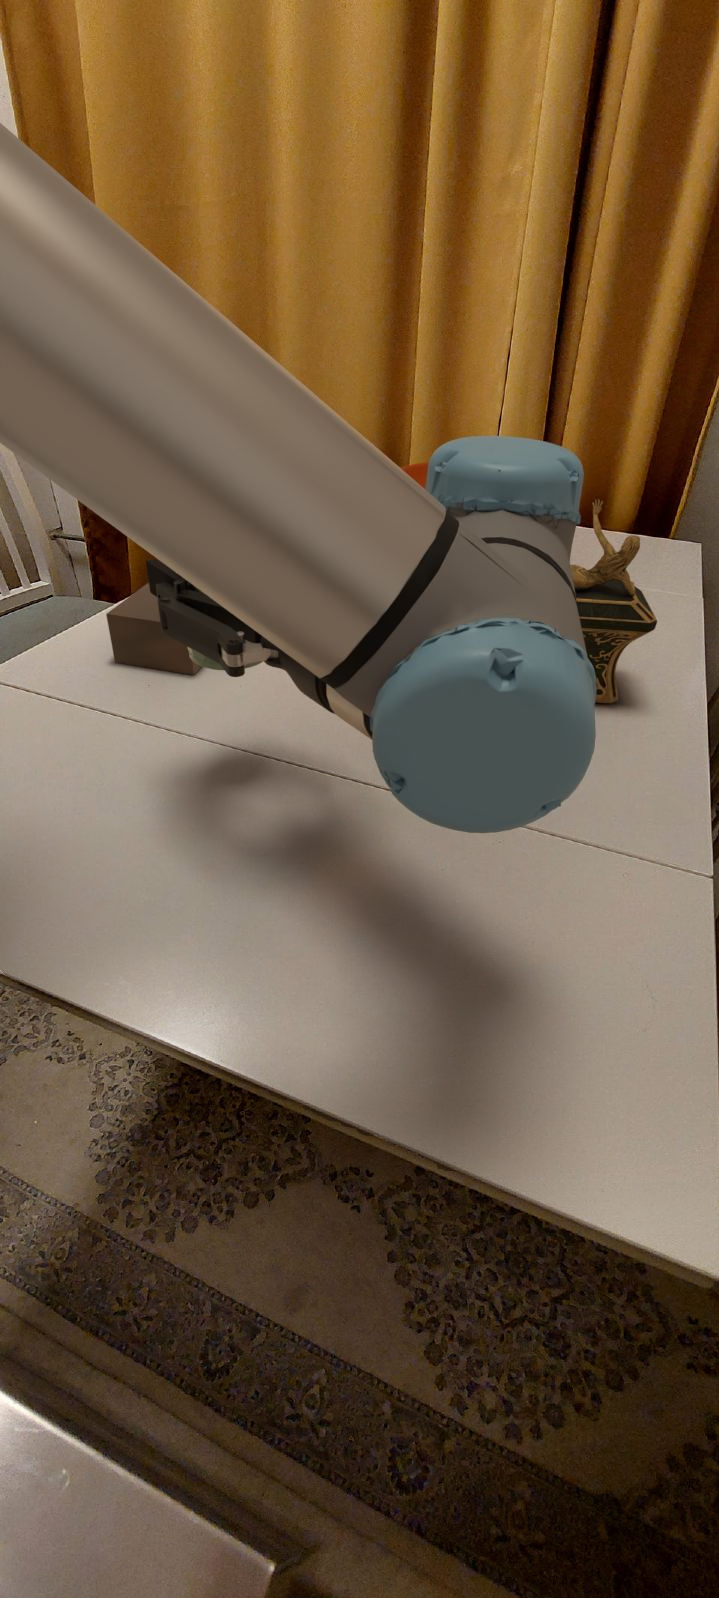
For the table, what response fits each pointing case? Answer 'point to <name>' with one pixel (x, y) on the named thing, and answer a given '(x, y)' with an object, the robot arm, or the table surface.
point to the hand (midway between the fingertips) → (194, 566)
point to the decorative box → (610, 609)
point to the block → (145, 636)
